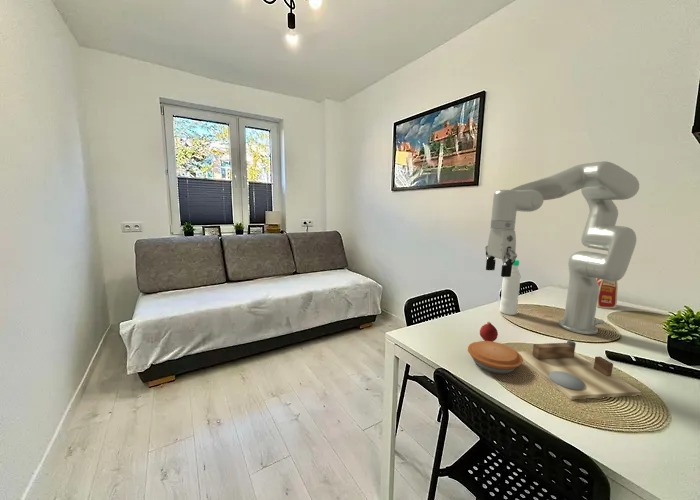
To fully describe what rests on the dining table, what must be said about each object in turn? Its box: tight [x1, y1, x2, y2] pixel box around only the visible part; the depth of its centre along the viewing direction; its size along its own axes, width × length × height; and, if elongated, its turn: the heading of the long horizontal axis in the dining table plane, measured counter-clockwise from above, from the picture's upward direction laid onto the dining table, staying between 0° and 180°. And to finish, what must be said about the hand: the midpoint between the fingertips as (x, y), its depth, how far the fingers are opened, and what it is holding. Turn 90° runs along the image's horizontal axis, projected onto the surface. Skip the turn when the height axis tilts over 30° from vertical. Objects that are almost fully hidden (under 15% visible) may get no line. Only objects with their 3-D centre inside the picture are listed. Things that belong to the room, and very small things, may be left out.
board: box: [517, 350, 642, 401], centre depth 85 cm, size 20×22×1 cm
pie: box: [467, 340, 524, 375], centre depth 90 cm, size 16×16×5 cm
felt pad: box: [549, 371, 585, 390], centre depth 80 cm, size 8×8×1 cm
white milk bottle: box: [499, 259, 522, 316], centre depth 131 cm, size 7×7×25 cm
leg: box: [532, 340, 577, 359], centre depth 92 cm, size 13×2×4 cm, turn 96°
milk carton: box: [596, 278, 619, 310], centre depth 142 cm, size 9×9×20 cm
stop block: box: [593, 356, 614, 376], centre depth 84 cm, size 2×4×4 cm, turn 5°
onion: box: [479, 321, 499, 342], centre depth 103 cm, size 6×6×8 cm
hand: (497, 273), depth 103 cm, fingers open, 9 cm apart
